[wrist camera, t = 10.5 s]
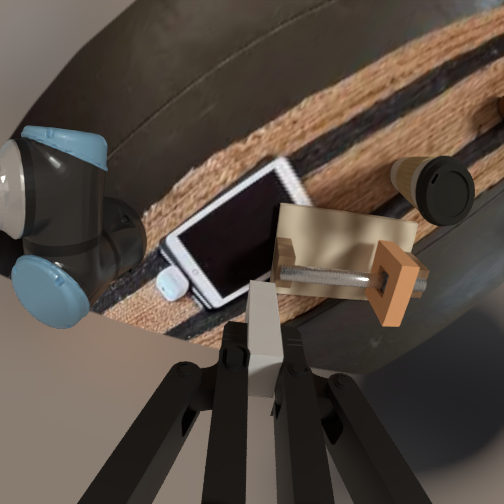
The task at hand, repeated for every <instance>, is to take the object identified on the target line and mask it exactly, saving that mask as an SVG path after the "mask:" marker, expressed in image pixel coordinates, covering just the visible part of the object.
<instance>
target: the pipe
mask: <svg viewBox="0 0 504 504" xmlns="http://www.w3.org/2000/svg"><path fill="white" fill-rule="evenodd" d="M388 278H389V275H388V273H387V272H386V271H383V272H382V273H372V272H361V271H350V270H340V269H330V268H319V267H309V266H299V265H295V266H291V265H281V271H280V278H279V280H282V281H292V282H303V283H314V284H326V285H338V286H350V287H362V288H375V289H380V291H382V292H384V291H385V288H386V284H387V281H388ZM425 288H426V279H425V278H419V277H417V278H416V281H415V285H414V287H413V290H412V291H418V292H423V291H424V290H425Z"/></svg>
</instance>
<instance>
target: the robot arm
mask: <svg viewBox="0 0 504 504" xmlns="http://www.w3.org/2000/svg"><path fill="white" fill-rule="evenodd" d="M21 137H22V138H21V139H12V140H8V141H7V142H6V143H5V144H4V146H3V147H2V148H1V149H0V230H3V231H4V232H6V233H7V234H8V235H10V236H11V237H12V238H13V239H19V238H23V248H24V256H21V257H20V258H18V259H17V261H16V264H15V265H14V267H13V269H12V284H13V288H14V291H15V293H16V295H17V297H18V299H19V301H20V302H21V303H22V305H23V306H24V308H25V309H26V310H28V312H29V313H30V314H31V315H32V316H33V317H35V318H36V319H37V320H38V321H40V322H42V323H43V324H45V325H47V326H50V327H53V328H57V329H67V328H71V327H72V326H74V325H76V324H77V323H78V322H79V321H80V320H81V319H82V318H83V317H85V316H86V315H87V314H88V312H89V309H90V308H91V307H92V306H93V304H94V303H95V302H96V301H97V299H98V298H99V297H100V296H101V294H102V293H103V292H104V291H105V290H106V288H107V287H108V286H109V285H110V283H111V282H112V281H115V280H118V279H120V278H123V277H126V276H127V275H129V274H131V273H132V272H133V271H134V270H135V269H136V268H137V267H138V265H139V264H140V263H141V261H142V260H143V258H144V255H145V252H146V247H147V238H146V232H145V228H144V226H143V223H142V221H141V219H140V218H139V216H138V215H137V214H136V212H135V211H134V210H133V209H132V208H131V207H130V206H128V205H127V204H126V203H124V202H122V201H120V200H118V199H114V198H109V197H104V184H105V172H107V167H106V159H107V143H106V141H105V139H104V138H103V137H102V136H100V135H98V134H93V133H87V132H81V131H74V130H66V129H58V128H50V127H40V126H26V127H25V128H24V130H23V132H22V133H21ZM274 392H275V401H274V404H273V408H272V411H271V416H273V414H274V435H275V457H276V481H277V504H335V503H334V496H333V489H332V483H331V477H330V470H329V464H328V458H327V452H326V446H327V449H328V451H329V453H330V455H331V457H332V459H333V461H334V463H335V466H336V468H337V470H338V472H339V474H340V476H341V478H342V480H343V482H344V484H345V486H346V488H347V490H348V492H349V494H350V496H351V498H352V501H353V503H354V504H432V502H431V501H430V499H429V498H428V496H427V494H426V493H425V491H424V490H423V488H422V486H421V485H420V483H419V482H418V480H417V479H416V477H415V475H414V473H413V472H412V470H411V469H410V467H409V465H408V464H407V462H406V461H405V459H404V458H403V456H402V454H401V453H400V451H399V450H398V448H397V446H396V445H395V443H394V442H393V440H392V439H391V437H390V435H389V434H388V432H387V431H386V429H385V428H384V426H383V425H382V423H381V421H380V420H379V418H378V417H377V415H376V414H375V412H374V410H373V409H372V407H371V406H370V404H369V403H368V401H367V399H366V398H365V397H364V395H363V393H362V392H361V390H360V389H359V387H358V385H357V384H356V382H355V381H354V380H353V379H352V378H351V377H350V376H348V375H346V374H342V373H336V374H333V375H331V376H330V377H329V379H327V378H324V377H320V376H317V375H315V374H313V373H312V371H311V369H310V368H309V367H308V366H307V365H306V361H305V355H304V350H303V346H302V341H301V334H300V332H299V331H298V330H297V328H296V327H290V326H280V320H279V311H278V302H277V294H276V285H275V283H270V282H261V281H252V280H250V286H249V293H248V300H247V308H246V315H245V323H242V322H233V321H228V323H227V324H226V325H225V326H224V330H223V337H222V345H221V348H220V351H219V361H218V362H217V364H215V365H213V366H211V367H207V368H199V367H198V366H197V365H196V364H194V363H192V362H187V361H185V362H179V363H177V364H175V365H174V366H172V368H171V369H170V371H169V372H168V373H167V375H166V376H165V378H164V379H163V381H162V382H161V384H160V385H159V387H158V388H157V389H156V391H155V392H154V394H153V395H152V397H151V398H150V399H149V401H148V402H147V404H146V405H145V407H144V408H143V409H142V411H141V412H140V414H139V415H138V417H137V418H136V420H135V421H134V422H133V424H132V425H131V427H130V428H129V430H128V431H127V432H126V434H125V435H124V437H123V438H122V440H121V441H120V443H119V444H118V445H117V447H116V449H115V450H114V451H113V453H112V454H111V456H110V457H109V458H108V460H107V461H106V463H105V464H104V466H103V467H102V469H101V470H100V471H99V473H98V474H97V476H96V477H95V479H94V480H93V482H92V483H91V484H90V486H89V487H88V489H87V490H86V492H85V493H84V495H83V496H82V497H81V499H80V500H79V502H78V503H77V504H152V502H153V500H154V499H155V497H156V495H157V493H158V491H159V489H160V488H161V486H162V484H163V482H164V480H165V478H166V476H167V475H168V473H169V471H170V469H171V467H172V465H173V463H174V461H175V459H176V457H177V456H178V454H179V452H180V450H181V448H182V446H183V444H184V442H185V440H186V439H187V437H188V435H189V432H190V431H191V429H192V427H193V425H194V423H195V421H196V419H197V417H198V415H199V413H200V411H205V410H212V417H211V426H210V433H209V442H208V449H207V458H206V466H205V475H204V484H203V493H202V502H201V504H245V501H246V456H247V454H246V453H247V452H246V451H247V410H248V396H255V397H270V398H273V396H274ZM325 445H326V446H325Z"/></svg>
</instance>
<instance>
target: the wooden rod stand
mask: <svg viewBox="0 0 504 504" xmlns="http://www.w3.org/2000/svg"><path fill="white" fill-rule="evenodd" d="M417 227H418V224H417V223H416V222H413V221H407V220H401V219H395V218H388V217H382V216H376V215H369V214H362V213H355V212H348V211H341V210H334V209H326V208H319V207H311V206H303V205H295V204H286V203H280V210H279V218H278V226H277V233H276V241H275V248H274V255H273V262H272V270H271V277H270V283H275V285H276V293H280V294H291V295H303V296H315V297H327V298H341V299H355V300H368V299H367V297H366V295H365V290H366V288H362V287H350V286H338V285H326V284H314V283H303V282H292V281H282V280H279V278H280V271H281V265H291V266H295V265H299V266H309V267H319V268H330V269H340V270H350V271H361V272H371V268H372V264H373V260H374V256H375V252H376V248H377V244H378V240H384V241H392V242H395V243H396V244H397V245H398V246H399V247H400V248H401V249H402V250H403V251H404V252H405V253H406V254H407V255H408V256H409V257H410V258H411V259H412V260H413V261H414V262H415V263H416V264H417V265H418V266H419V267H420V269H419V272H418V275H417V277H419V278H425V279H426V280H427V277H428V274H429V270H428V269H427V268H426V267H425V266H424V265H423V264H422V263H421V262H420V261H419V260H418V259H417V258H416V257H415V256H414V255H413V254H412V253H411V250H412V246H413V242H414V238H415V235H416V231H417ZM421 295H422V292H418V291H412V293H411V296H410V297H415V298H420V297H421Z"/></svg>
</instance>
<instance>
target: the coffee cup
mask: <svg viewBox="0 0 504 504" xmlns="http://www.w3.org/2000/svg"><path fill="white" fill-rule="evenodd" d="M390 179H391V182H392V184H393V186H394V187H395V188H396V189H397V190H398V191H399V192H400V193H401V194H402V195H403V196H404V197H405V198H406V199H407V200H408V201H409V202H410V203H411V204H412V205H413V206H414V207H415V208H416V209H417V210H418V211H419V212H420V213H421V215H422V217H423V218H424V219H425V220H426V221H428V222H429V223H431V224H433V225H436V226H449V225H454V224H457V223H459V222H460V221H462V220H463V219H464V218H465V217H466V216H467V215H468V213H469V212H470V210H471V208H472V205H473V202H474V197H475V187H474V182H473V179H472V176H471V174H470V173H469V172H468V170H467V168H466V167H465V166H464V165H463V164H462V163H461V162H460V161H459V160H457V159H455V158H453V157H450V156H439V157H403V158H400V159H398V160H397V161H396V162H395V163H394V164H393V166H392V168H391V171H390Z"/></svg>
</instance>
